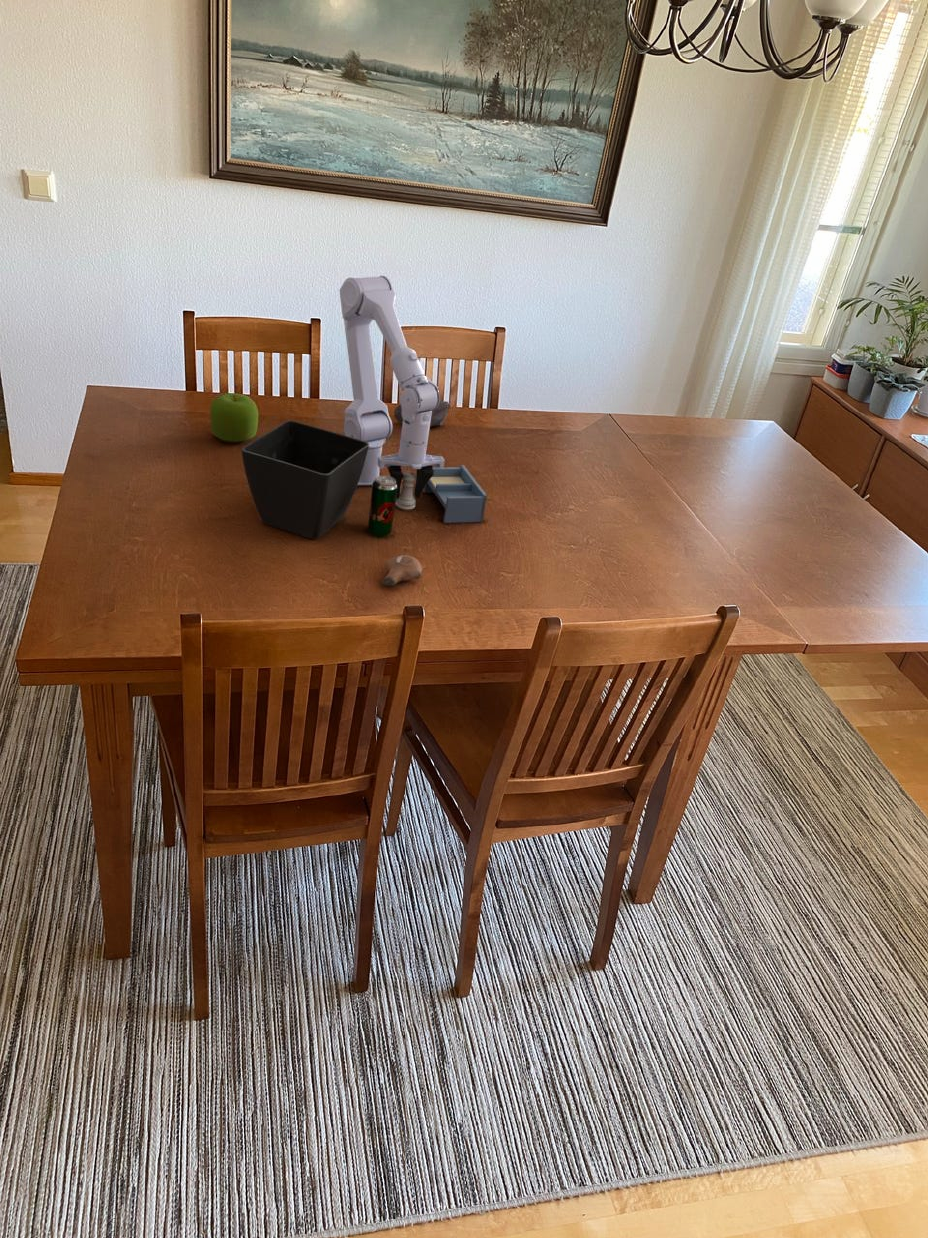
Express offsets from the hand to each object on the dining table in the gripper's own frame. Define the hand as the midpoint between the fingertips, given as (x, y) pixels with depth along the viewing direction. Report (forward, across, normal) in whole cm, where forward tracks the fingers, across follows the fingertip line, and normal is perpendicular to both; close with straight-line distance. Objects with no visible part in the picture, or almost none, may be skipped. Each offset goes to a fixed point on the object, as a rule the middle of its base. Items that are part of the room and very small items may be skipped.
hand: (406, 496), depth 196 cm
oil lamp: (+3, -10, -29) cm, 31 cm away
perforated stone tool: (+3, +18, +45) cm, 49 cm away
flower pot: (+3, -24, -5) cm, 25 cm away
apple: (+3, -32, +36) cm, 48 cm away
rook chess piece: (+3, 0, 0) cm, 3 cm away
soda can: (+3, -9, -11) cm, 14 cm away
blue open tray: (+2, +11, 0) cm, 11 cm away
